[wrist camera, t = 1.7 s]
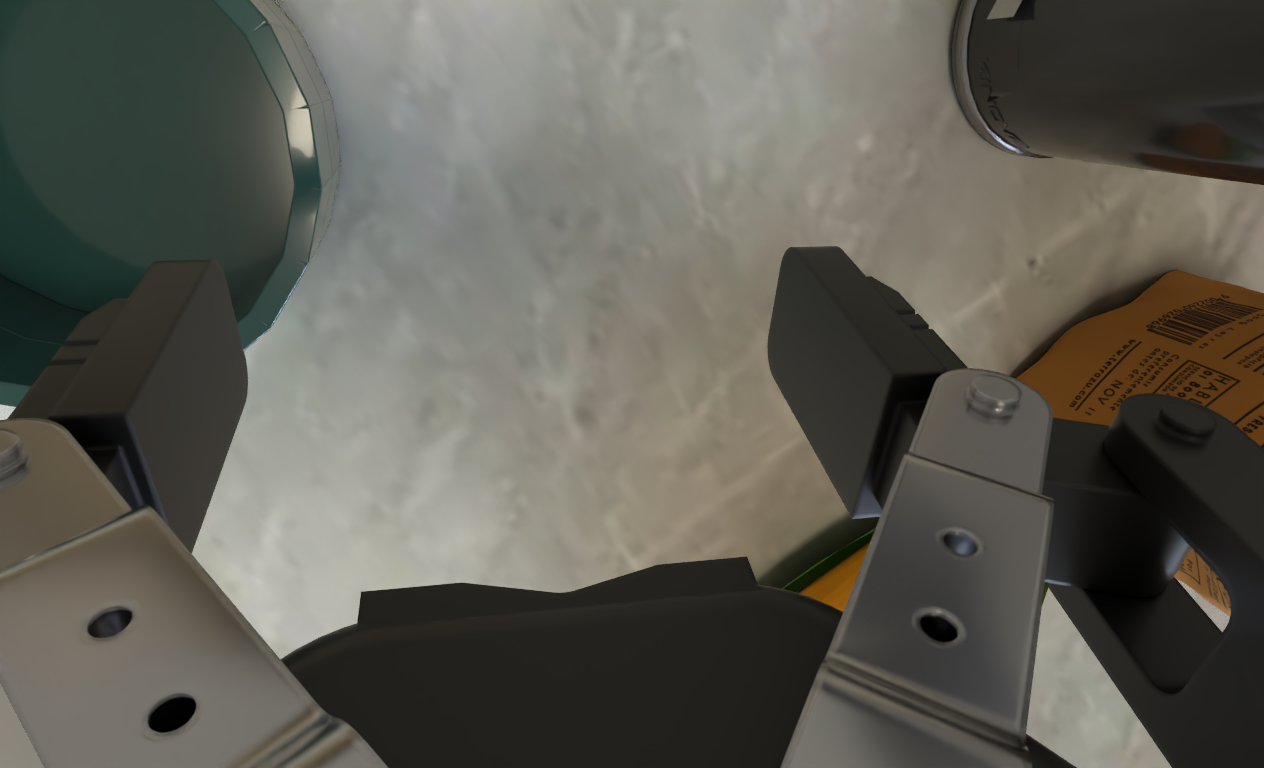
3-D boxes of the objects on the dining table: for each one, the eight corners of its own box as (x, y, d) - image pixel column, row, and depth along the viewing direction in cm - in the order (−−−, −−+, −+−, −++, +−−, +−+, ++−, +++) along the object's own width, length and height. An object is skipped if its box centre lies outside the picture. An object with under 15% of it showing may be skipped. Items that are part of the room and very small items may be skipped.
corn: (1124, 630, 36) (737, 877, 35) (1012, 548, 43) (688, 752, 43) (1076, 503, 34) (658, 766, 33) (965, 438, 41) (619, 653, 40)
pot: (104, -196, 24) (-15, -302, 17) (421, 170, 30) (424, 199, 23) (-235, 98, 25) (-482, 108, 18) (141, 405, 30) (63, 502, 23)
